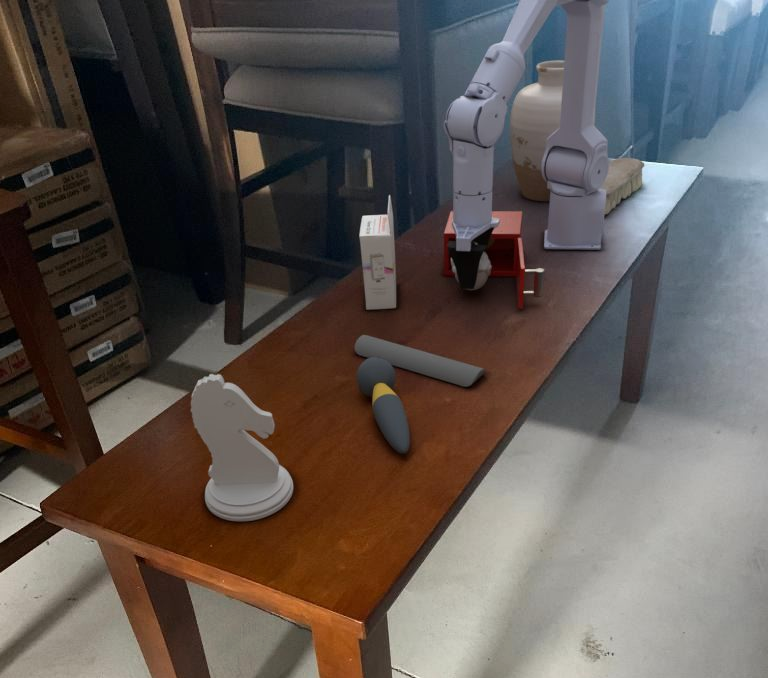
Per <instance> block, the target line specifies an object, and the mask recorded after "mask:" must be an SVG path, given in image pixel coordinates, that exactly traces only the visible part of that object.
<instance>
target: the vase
mask: <svg viewBox="0 0 768 678" xmlns="http://www.w3.org/2000/svg"><path fill="white" fill-rule="evenodd" d="M535 70H536V71H537V75H538V76H537V82H534V83H531V84H528V85H526V86H524V87H522V88H521V89H520V90H519V91H518V93H517V94H516V95H515V98H514V99H513V103H512V106H511V111H510V116H509V141H510V151H511V152H510V153H511V158H512V165H513V169H514V173H515V176H516V179H517V183H518V186H519V190H520V192H521V195H522V196H523V197H524V198H525V199H527V200H531V201H535V202H550V192H551V189H548V188H547V182H546V181H545V180H544V179H543V176H542V171H541V164H542V159H543V156H544V154H545V150H546V142H547V138H548V137H549V136H550V135H551V134H552V133H554V132H555V131H556V130H558V129H559V128H560V117H561V103H562V89H563V74H564V60H558V59H557V60H546V61H542V62H539V63H537V64H536V66H535ZM595 125H596V115H595V116H594V126H595Z"/></svg>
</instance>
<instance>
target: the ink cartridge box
mask: <svg viewBox="0 0 768 678" xmlns="http://www.w3.org/2000/svg"><path fill="white" fill-rule="evenodd" d="M360 221H361V222H360V228H359V236H358V237H359V243H360V244H359V245H360V255H361V265H362V277H363V285H364V286H363V287H364V298H365V310H366V311H367V310H368V311H370V310H387V309H388V310H390V309H396V308H397V273H396V272H397V269H396V250H395V249H396V247H395V246H396V245H395V228H394V225H395V224H394V211H393V205H392V197H391V194H389V195H388V203H387V214H371V215H370V214H369V215H362V217H361V220H360Z"/></svg>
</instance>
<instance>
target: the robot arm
mask: <svg viewBox="0 0 768 678" xmlns="http://www.w3.org/2000/svg"><path fill="white" fill-rule="evenodd" d="M609 2H610V0H519V3H518V5H517V7H516V9H515V10H514V11H515V12H514V13H513V16H512V18H511V20H510V22H509V25H508V27H507V29H506V31H505V34H504V36H503V38H502V40H501V42H497V43H494V44H492V45H490V46H489V47H488V49H487V51H486V52H485V54H484V57H483V59H482V61H481V62H480V64H479V66H478V68H477V69H476V71H475V73H474V75H473V77H472V79H471V81H470V82H469V85H468V86H467V88H466V90H465V92H464V94H463V95H461V96H459V97H458V98H456V99H455V100H454V101H452V102H451V104H450V105H449V107H448V108H447V110H446V114H445V120H444V121H443V130H444V134H445V136H446V137H447V139H448V142H449V152H450V154H451V155H452V192H453V193H452V211H453V219H452V227H453V230H454V232H455V234H456V241H449V243H448V245H447V250H448V253H449V254H450V256H451V258H452V260H453V262H454V264H455V267H456V271H457V276H458V281H459V283H458V285H459V287H460V289H463V290H467V289H474V286H475V283H476V279H477V273H478V267H479V263H480V259H481V256H482V254H483V252H485V253H486V250H487V246H488V242H489V239H490V236H491V234H492V232H493V230H494V228H495V227H498V226H499V224H500V219H498V218H492V211H493V191H494V190H493V189H494V188H493V187H494V185H493V184H494V158H495V157H494V156H495V143H496V142H497V141H498V140H499V138H500V137H501V135H502V134H503V131H504V127H505V118H506V115H507V113H508V108H509V106H508V105H507V104H508V102H509V101H510V99H511V97H512V96H513V93H514V91H515V90H516V88H517V87H518V84H519V82H520V80H521V78H522V76H523V75H524V73H525V71H526V61H525V57H524V55H525V53H526V52H527V50H528V49H529V47H530V46H531V44H532V42H533V41H534V39H535V38H536V36H537V35H538V33H539V31H540V30H541V28H542V27H543V26H544V24H545V22H546V21H547V19H548V18H549V16H550V14H551V13H552V11H553V9H554V8H555V7H558V6H560V7H561V8H562V9H563V11H564V12H566V14H567V15H566V16H567V18H566V21H567V22H566V35H565V45H564V47H565V48H564V60H563V61H564V74H563V89H562V103H561V117H560V128H559V129H558V130H556V131H555V132H554V133H552V134H551V135H550V136H549V137H548V138H547V142H546V150H545V154H544V156H543V159H542V164H541V171H542V176H543V179H544V180H545V181H546V182H547V188H548V189H551V192H550V201H549V206H548V219H547V229H545V230H544V240H543V249H545V250H582V251H583V250H585V251H586V250H587V251H588V250H589V251H590V250H591V251H592V250H594V251H596V250H597V251H599V250H601V249H602V238H603V235H604V232H605V231H604V230H605V223H604V222H605V215H606V214H605V206H606V190H605V189H599V188H600V187H601V186H602V184H603V183H604V181H605V179H606V177H607V174H608V170H609V162H610V161H609V155H608V145H609V142H608V139H607V138H606V137H605V136H604V135H603V133H602V132H601V131H600V130H599V129H598V128H597V127H596V126H595V125H594V116H595V117H596V104H597V93H598V85H599V84H598V82H599V74H600V65H601V64H600V62H601V53H602V44H603V43H602V42H603V32H604V20H605V10H606V9H605V8H606V5H607V4H608V3H609ZM475 242H476V243H477V244H478V245H475ZM458 281H457V282H458Z"/></svg>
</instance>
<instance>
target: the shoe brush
mask: <svg viewBox="0 0 768 678" xmlns="http://www.w3.org/2000/svg"><path fill="white" fill-rule="evenodd" d="M644 167H645V162H644V161H642V160H640V159H637V158H633V157H619V158H615V159H614V160H612V161H609V170H608V174H607V177H606V179H605V181H604V183H603V184H602V186H601V187H600V188H599V189H605V190H606V206H605V215H609V213H610V212H611V211H612V210H613V209H615V208H616V206H617V205H619V204H620V203H621V199H623V200H625V199H627V198H628V197H630V196H631V194H632V193H634V192H636V191H638V190H639V189H640V188H642V186H643V168H644Z"/></svg>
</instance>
